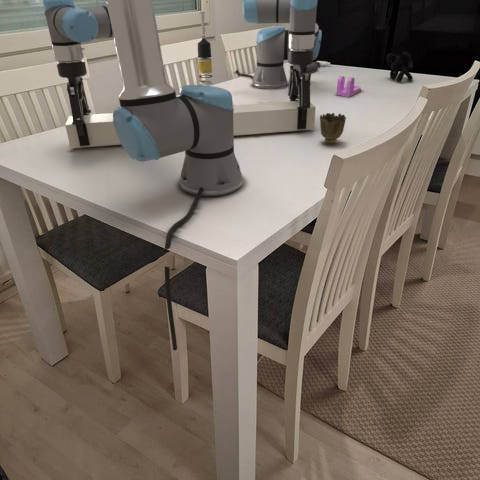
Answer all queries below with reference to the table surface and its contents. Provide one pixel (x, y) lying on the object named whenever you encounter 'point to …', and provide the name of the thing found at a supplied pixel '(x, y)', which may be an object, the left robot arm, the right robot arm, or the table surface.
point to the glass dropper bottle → (204, 56)
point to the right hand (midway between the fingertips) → (297, 124)
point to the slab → (244, 122)
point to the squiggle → (399, 66)
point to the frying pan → (316, 66)
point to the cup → (332, 127)
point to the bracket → (349, 89)
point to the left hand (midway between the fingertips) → (86, 140)
